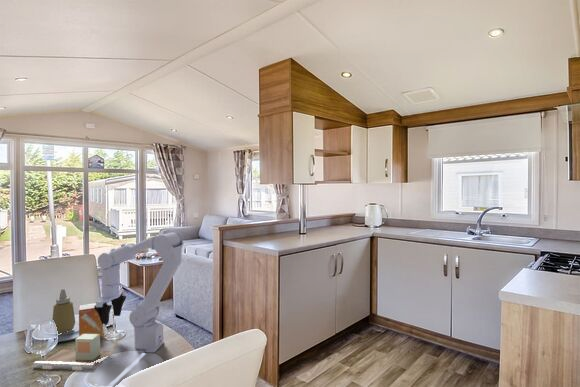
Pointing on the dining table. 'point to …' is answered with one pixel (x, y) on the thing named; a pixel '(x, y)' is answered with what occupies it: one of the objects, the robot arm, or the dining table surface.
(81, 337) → the carton
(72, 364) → the shelf board
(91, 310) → the small box
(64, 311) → the squeeze bottle
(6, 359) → the dining table surface
